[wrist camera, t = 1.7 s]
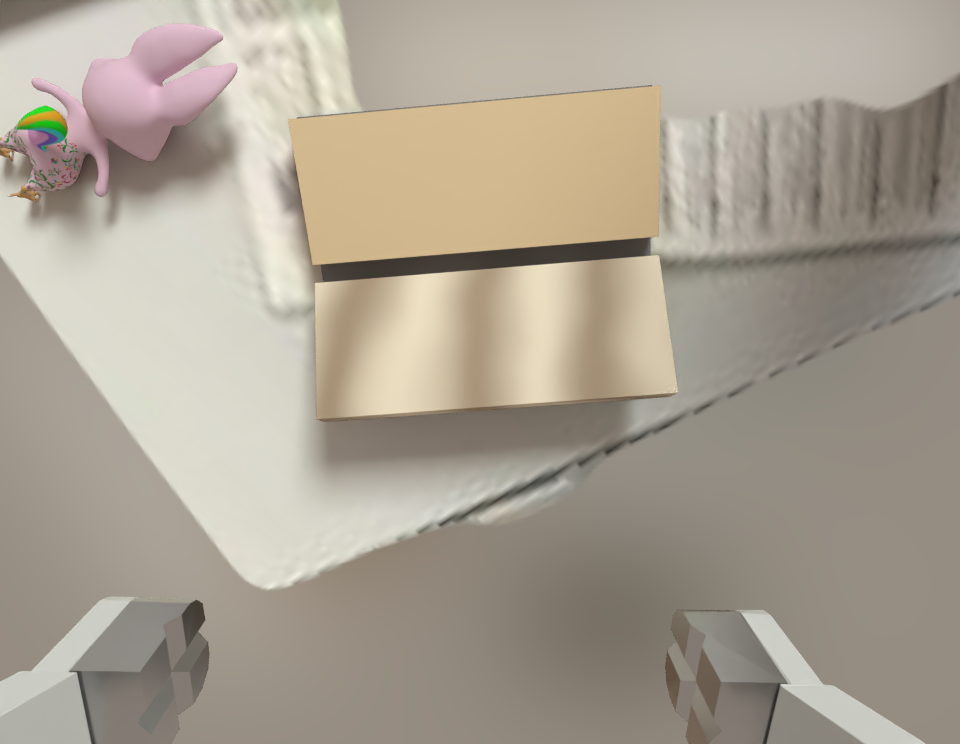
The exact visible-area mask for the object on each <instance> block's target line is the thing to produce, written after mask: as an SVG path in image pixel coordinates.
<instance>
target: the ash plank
mask: <svg viewBox="0 0 960 744" xmlns="http://www.w3.org/2000/svg"><path fill="white" fill-rule="evenodd" d="M315 332H316V419H317V420H321V421H324V422H333V421H346V420H360V419H374V418H387V417H401V416H414V415H428V414H442V413H455V412H469V411H482V410H496V409H510V408H523V407H537V406H550V405H564V404H578V403H591V402H605V401H618V400H632V399H646V398H659V397H670V396H672V395H674V394H676V393H678V387H677V380H676V373H675V366H674V359H673V351H672V344H671V337H670V330H669V323H668V316H667V308H666V301H665V294H664V287H663V280H662V272H661V265H660V258H659V255H653V256H641V257H629V258H617V259H604V260H592V261H580V262H568V263H555V264H543V265H531V266H519V267H506V268H494V269H482V270H470V271H457V272H445V273H433V274H421V275H408V276H396V277H384V278H372V279H359V280H347V281H335V282H323V283H315Z"/></svg>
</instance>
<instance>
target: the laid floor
mask: <svg viewBox="0 0 960 744" xmlns="http://www.w3.org/2000/svg"><path fill="white" fill-rule="evenodd" d="M660 97H661V86H652V85H648V86H637V87H626V88H615V89H604V90H593V91H583V92H572V93H561V94H550V95H539V96H528V97H517V98H506V99H495V100H485V101H473V102H462V103H451V104H440V105H429V106H418V107H408V108H396V109H386V110H375V111H363V112H352V113H341V114H330V115H320V116H309V117H298V118H297V119H288V122H289V128H290V134H291V140H292V146H293V152H294V158H295V163H296V169H297V175H298V181H299V187H300V193H301V199H302V205H303V211H304V217H305V222H306V228H307V234H308V240H309V246H310V252H311V258H312V264H313V265H320V264H321V268H322V274H323V281H324V282H335V281H347V280H359V279H372V278H384V277H396V276H408V275H421V274H433V273H445V272H457V271H470V270H482V269H494V268H506V267H519V266H531V265H543V264H555V263H568V262H580V261H592V260H604V259H617V258H629V257H641V256H650V237H659V168H660Z"/></svg>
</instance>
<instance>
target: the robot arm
mask: <svg viewBox="0 0 960 744" xmlns="http://www.w3.org/2000/svg"><path fill="white" fill-rule="evenodd" d="M204 621H205V615H204V609H203V604H202V603H201V602H200V601H198V600H193V599H170V598H148V597H147V598H146V597H139V598H135V597H113V596H109V597H107V598H104V599H102V600H100V601H99V602H98V603H97V604H96V605H95V606H94V607H93V608H92V609H91V610H90V611H89V612H88V613H87V614H86V615H85V616H84V617H83V618H82V619H81V620H80V621H79V622H78V623H77V624H76V625H75V626H74V627H73V629H71V630H70V632H69V633H68V634H67V635H66V636H65V637H64V638H63V639H62V640H61V641H60V642H59V643H58V644H57V645H56V646H55V647H54V648H53V649H52V650H51V651H50V652H49V653H48V654H47V655H46V656H45V657H44V658H43V659H42V660H41V662H40V663H38V665H37V666H36V667H35V668H34V669H33V670H32V671H30V672H28V671H27V672H26V671H20V672H18V673H17V674H14V675H13V676H11V677H9V678H7V679H5V680H3V681H1V682H0V744H171V743H172V741H173V740H174V738H175V736H176V734H177V733H178V731H179V721H178V715H179V714H181V713H182V712H183V711H185V710H186V709H188V708H189V707H190V706H192V705H193V704H194V703H195V701H196V699H197V697H198V695H199V693H200V692H201V690H202V688H203V684H204V681H205V678H206V674H207V671H208V664H209V646H208V641H207V640H206V639H205V638H204V637H203V636H202V635H201V634H200V633H199V632H198V631H199V629H200V627H201V626H202V624H203V623H204ZM671 631H672V633H673V635H674V637H675V639H676V642H675V643H674V644H673V645H672V646H671V647H670V648H669V649H668V650H667V658H666V665H665V669H666V682H667V688H668V692H669V696H670V699H671V702H672V704H673V707H674V709H675V712H676V713H678V714H679V715H680V716H681V717H682V718H684V719H685V720H686V721H687V722H688V726H687V732H686V738H687V741H688V743H689V744H925V743H924V742H922V741H920V740H919V739H917V738H916V737H914V736H913V735H911V734H909V733H908V732H906V731H905V730H903V729H901V728H900V727H898V726H897V725H895V724H893V723H892V722H890V721H889V720H887V719H886V718H884V717H882V716H881V715H879V714H878V713H876V712H874V711H873V710H871V709H870V708H868V707H866V706H865V705H863V704H862V703H860V702H858V701H857V700H855V699H854V698H852V697H851V696H849V695H847V694H846V693H844V692H842V691H841V690H839V689H838V688H836V687H835V686H833V685H823V684H822V682H821V681H820V680H819V679H818V677H817V676H816V674H815V673H814V672H813V671H812V669H811V668H810V667H809V665H808V664H807V663H806V661H805V660H804V659H803V657H802V656H801V655H800V653H799V652H798V651H797V649H796V648H795V647H794V646H793V644H792V643H791V641H790V640H789V639H788V637H787V636H786V635H785V634H784V632H783V631H782V630H781V628H780V627H779V626H778V624H777V623H776V622H775V620H774V619H773V618H772V616H771V615H770V614H769V613H767V612H766V611H764V610H733V611H728V610H725V611H722V610H676V612H675V614H674V616H673V619H672V625H671Z"/></svg>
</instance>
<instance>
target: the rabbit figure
mask: <svg viewBox="0 0 960 744" xmlns="http://www.w3.org/2000/svg"><path fill="white" fill-rule="evenodd" d="M222 40H223V35H222V34H221V33H220V32H218V31H216V30H213V29H210V28H206V27H202V26H196V25H190V24H167V25H163V26H160V27H156V28H153V29H151V30H149V31H147V32H145V33H143V34H142V35H141V36H140V37H138V39H137V40H136V41H135V43H134V44H133V47H132V50H131V52H130V54H129V55H128V56H127V57H125V58H121V59H102V58H101V59H96V60H95V61H93V62H92V64H91V66H90V68H89V70H88V73H87V76H86V78H85V81H84V84H83V88H82V100H83V105H84V106H83V105H82V104H81V103H80V102H79V101H77V100H76V99H75V98H74V97H72V96H71V95H70V94H68V93H67V92H65V91H64V90H62V89H61V88H59V87H57V86H55V85H53V84H51V83H49V82H47V81H44V80H42V79H40V78H33V79H32V85H33V86H34V87H35V88H36V89H37V90H40V91H43V92H47V93H49V94H51V95H53V96H54V97H56V98H57V99H58V100H59V101H60V102H61V103H62V104H63V105H64V106H65V107H66V109H67V111H68V118H67V120H66V121H65V119H64V118H63V116H62V115H61V114H60V113H59V112H57V111H56V110H54V109H53V108H51V107H48V106H42V107H39V108H37V109H35V110H33V111H31V112H29V113H27V114H26V115H25V116H24V117H23V118H22V119H21V120H20V121H19V123H18V124H17V125H16V126H15V127H14V128H13V129H12V130H11V131H9V132H8V133H7V134H6V135H5V136H4V137H2V138H0V155H1V156H4V157H9V158H10V159H11V161H13V159H12V157H10V155H9V154H8V153H10V151H12V152H13V151H16V152H19V153H22V154H25V155H28V157H29V159H30V162H31V164H32V167H33V169H32V172H31V174H30V176H29V179H28V181H27V183H26V185H24V186H22V187H21V191H20V192H19V193H16V194H11V195H9V196H7V197H12V196H18V197H21V198H27V199H29V200H32V201H33V200H37V202H39V199H36V198H35V197H34V196H36V195H39V196H40V195H41V194H39V193H35V192H34V191H59V190H63V189H66V188H68V187H70V186H71V185H72V184H73V183H74V182H75V181H76V180H77V178H78V176H79V173H80V170H81V166H82V163H83V160H84V157H85V156H86V155H87V154H91V155H92V156H93V157H94V158H95V160H96V162H97V167H98V180H97V183H96V185H95V193H96V194H97V195H98V196H100V197H104V196H105V195H106V193H107V189H108V182H109V153H108V147H107V138H108V139H109V140H111V141H112V142H114V143H115V144H117V145H118V146H120V147H121V148H123V149H124V150H126V151H127V152H129V153H131V154H132V155H134V156H136V157H138V158H141V159H143V160H146V161H153V160H155V159H156V158H157V157H158V155H159V153H160V151H161V149H162V147H163V146H164V144H165V142H166V140H167V138H168V136H169V133H170V131H171V129H172V127H173V126H175V125H178V126H183V125H186V124H188V123H190V122H191V121H193V120H194V119H195V118H196V117H197V116H198V115H199V114H200V113H201V112H202V111H203V110H204V109H205V108H207V107H208V106H209V105H210V104H211V103H212V102H213V101H214V100H215V98H216V97H217V96H218V95H219V94H220V93H221V92H222V91H223V90H224V88H225V87H226V86H227V85H228V84H229V83H230V82H231V80H232V79H233V78H234V76H235V74H236V72H237V65H236V64H235V63H230V64H225V65H220V66H212V67H206V68H202V69H198V70H195V71H193V72H190V73H188V74H186V75H184V76H182V77H180V78H178V79H175V80H173V81H171V82H169V83H167V84H166V85H164V86H163V84H162V82H163V81H164V80H165V79H167V78H168V77H170V76H172V75H173V74H175V73H177V72H178V71H180V70H181V69H183V68H184V67H186V66H187V65H189V64H190V63H192V62H193V61H195V60H196V59H198V58H199V57H201V56H202V55H203V54H205V53H206V52H207V51H208V50H209V49H211V48H212V47H213V46H215V45H216V44H218V43H219V42H221V41H222ZM9 149H10V150H9ZM37 202H36V203H37Z"/></svg>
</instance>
